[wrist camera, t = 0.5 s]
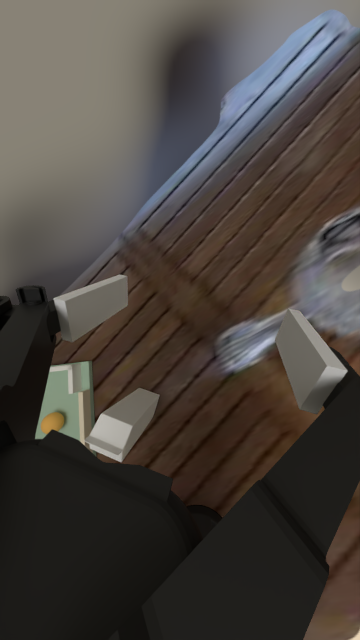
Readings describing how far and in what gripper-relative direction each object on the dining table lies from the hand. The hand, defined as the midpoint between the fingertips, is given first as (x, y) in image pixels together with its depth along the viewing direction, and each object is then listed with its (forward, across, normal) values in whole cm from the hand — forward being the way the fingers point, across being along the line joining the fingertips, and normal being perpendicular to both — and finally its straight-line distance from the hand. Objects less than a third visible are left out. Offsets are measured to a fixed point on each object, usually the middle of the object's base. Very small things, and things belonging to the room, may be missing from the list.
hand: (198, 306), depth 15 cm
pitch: (+12, +34, +44) cm, 56 cm away
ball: (+7, +33, +43) cm, 55 cm away
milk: (+17, +11, +37) cm, 42 cm away
